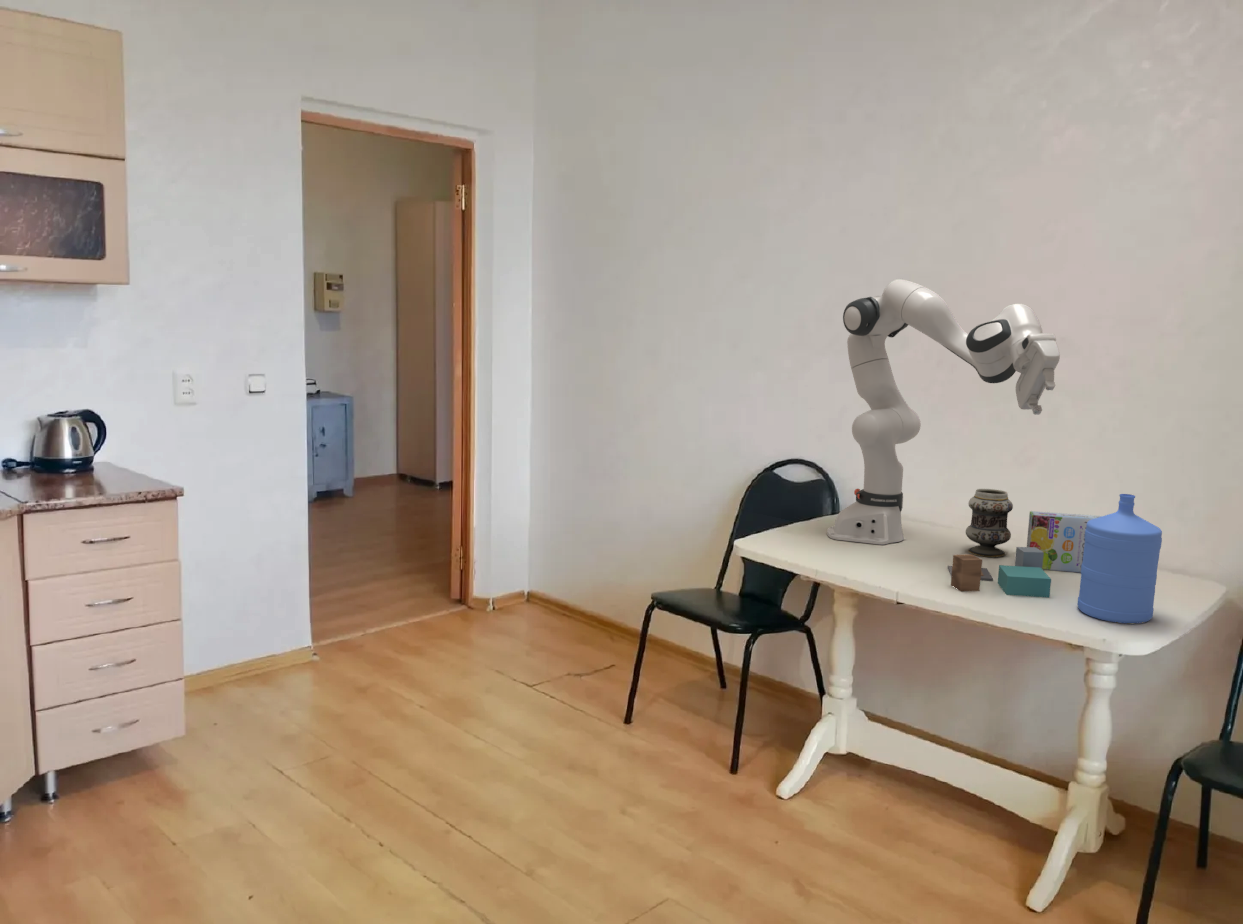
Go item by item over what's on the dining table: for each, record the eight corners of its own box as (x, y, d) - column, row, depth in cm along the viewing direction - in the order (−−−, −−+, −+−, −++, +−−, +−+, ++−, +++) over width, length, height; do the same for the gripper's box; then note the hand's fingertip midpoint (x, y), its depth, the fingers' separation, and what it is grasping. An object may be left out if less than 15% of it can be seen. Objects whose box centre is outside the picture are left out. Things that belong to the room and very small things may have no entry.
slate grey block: (1021, 582, 246) (1023, 552, 244) (1013, 576, 251) (1016, 546, 249) (1040, 582, 246) (1043, 552, 244) (1033, 577, 250) (1035, 547, 249)
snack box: (1109, 570, 258) (1115, 515, 255) (1113, 576, 253) (1120, 520, 250) (1024, 563, 264) (1029, 509, 261) (1027, 568, 258) (1032, 514, 256)
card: (952, 578, 248) (952, 575, 248) (947, 567, 257) (947, 564, 257) (993, 581, 246) (993, 578, 246) (986, 570, 256) (986, 567, 255)
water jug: (1131, 629, 211) (1145, 505, 207) (1063, 610, 224) (1075, 492, 219) (1165, 616, 221) (1179, 497, 216) (1098, 598, 233) (1110, 485, 228)
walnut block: (950, 585, 242) (953, 554, 240) (969, 584, 243) (971, 554, 241) (960, 591, 237) (963, 560, 235) (979, 590, 238) (982, 559, 236)
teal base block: (1005, 595, 235) (1007, 576, 234) (997, 584, 245) (999, 565, 244) (1049, 598, 233) (1051, 578, 232) (1038, 586, 243) (1040, 567, 242)
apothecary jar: (1002, 548, 279) (1007, 487, 276) (1014, 559, 267) (1020, 496, 264) (959, 546, 280) (964, 486, 277) (970, 557, 268) (975, 494, 265)
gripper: (1005, 384, 248) (1017, 426, 240) (1030, 329, 231) (1044, 374, 223) (1030, 383, 248) (1043, 426, 240) (1057, 329, 231) (1072, 373, 223)
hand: (1044, 400), depth 231 cm, fingers open, 8 cm apart
